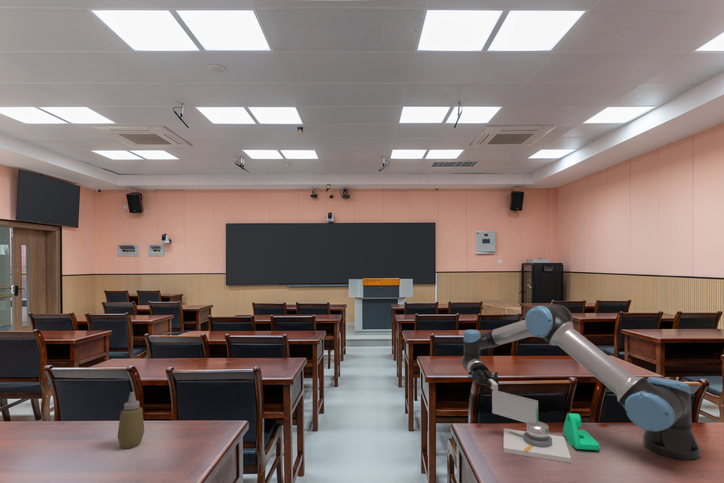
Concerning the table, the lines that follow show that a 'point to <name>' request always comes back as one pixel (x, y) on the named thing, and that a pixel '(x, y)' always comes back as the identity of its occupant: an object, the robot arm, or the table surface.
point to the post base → (536, 446)
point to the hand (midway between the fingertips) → (495, 388)
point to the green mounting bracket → (578, 433)
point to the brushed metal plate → (520, 413)
